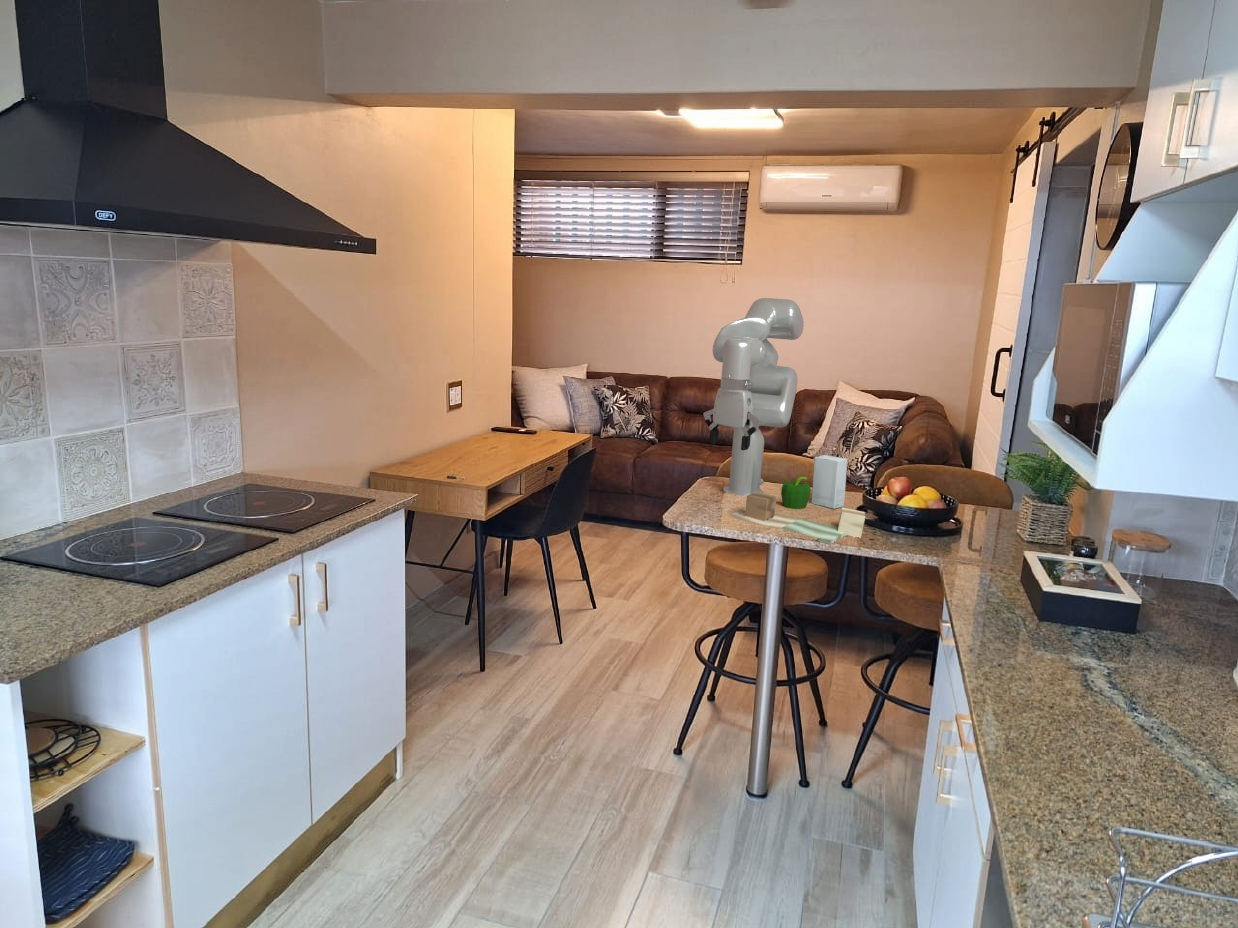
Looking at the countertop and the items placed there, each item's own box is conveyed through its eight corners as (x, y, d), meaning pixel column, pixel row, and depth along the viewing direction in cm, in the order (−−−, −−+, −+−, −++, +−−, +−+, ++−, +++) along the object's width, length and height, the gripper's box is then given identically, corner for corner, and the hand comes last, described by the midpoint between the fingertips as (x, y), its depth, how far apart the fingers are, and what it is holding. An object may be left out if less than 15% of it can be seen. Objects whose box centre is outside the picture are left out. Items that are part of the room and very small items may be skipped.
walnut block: (754, 512, 229) (756, 491, 228) (774, 517, 226) (776, 496, 224) (744, 516, 224) (747, 495, 223) (764, 521, 221) (767, 499, 220)
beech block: (837, 528, 222) (842, 507, 220) (860, 533, 220) (864, 512, 219) (837, 534, 216) (841, 512, 215) (860, 539, 214) (865, 517, 213)
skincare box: (844, 506, 246) (850, 458, 243) (833, 509, 242) (839, 460, 239) (820, 500, 252) (825, 453, 249) (809, 503, 248) (814, 455, 245)
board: (748, 510, 235) (748, 506, 235) (849, 533, 218) (850, 529, 218) (725, 519, 224) (726, 516, 224) (830, 544, 207) (830, 540, 207)
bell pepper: (775, 509, 238) (779, 476, 235) (784, 504, 245) (787, 471, 243) (804, 515, 234) (808, 481, 232) (811, 509, 241) (815, 476, 239)
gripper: (769, 388, 219) (763, 450, 223) (713, 380, 229) (708, 440, 233) (756, 390, 213) (750, 454, 217) (700, 382, 223) (695, 443, 227)
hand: (729, 446), depth 225 cm, fingers open, 9 cm apart
